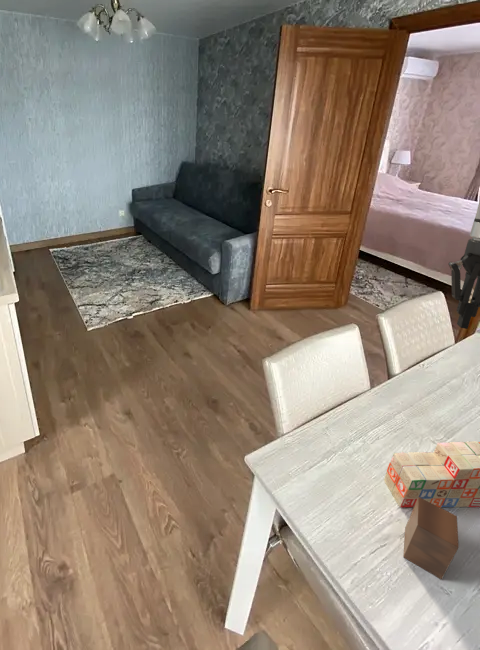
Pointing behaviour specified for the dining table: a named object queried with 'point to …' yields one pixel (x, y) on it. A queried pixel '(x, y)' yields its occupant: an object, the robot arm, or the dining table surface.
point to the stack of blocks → (437, 475)
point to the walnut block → (431, 537)
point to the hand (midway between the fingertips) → (462, 326)
